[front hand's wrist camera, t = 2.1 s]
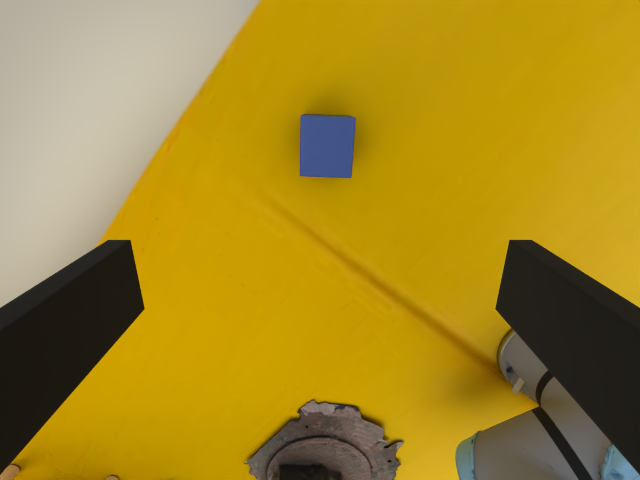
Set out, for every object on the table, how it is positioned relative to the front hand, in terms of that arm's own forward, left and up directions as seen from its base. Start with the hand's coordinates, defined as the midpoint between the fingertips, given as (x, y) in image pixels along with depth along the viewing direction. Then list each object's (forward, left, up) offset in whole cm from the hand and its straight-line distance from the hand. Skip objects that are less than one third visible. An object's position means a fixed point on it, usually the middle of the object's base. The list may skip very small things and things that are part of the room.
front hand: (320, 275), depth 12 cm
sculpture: (-31, +55, -39) cm, 74 cm away
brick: (0, -1, -39) cm, 39 cm away
